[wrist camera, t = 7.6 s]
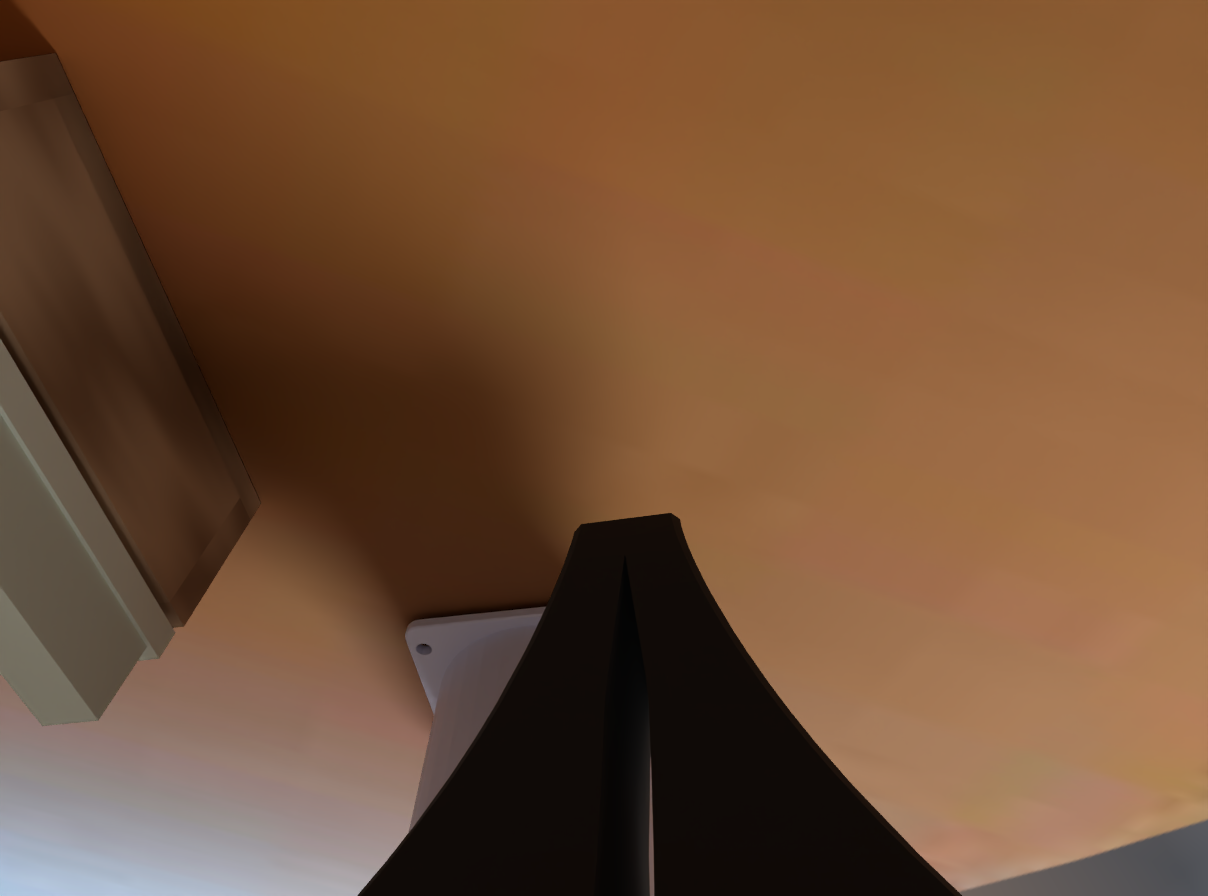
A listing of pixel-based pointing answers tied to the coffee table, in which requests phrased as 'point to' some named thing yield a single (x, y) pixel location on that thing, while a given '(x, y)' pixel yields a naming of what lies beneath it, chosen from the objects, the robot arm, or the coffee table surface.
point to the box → (109, 346)
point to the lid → (62, 574)
